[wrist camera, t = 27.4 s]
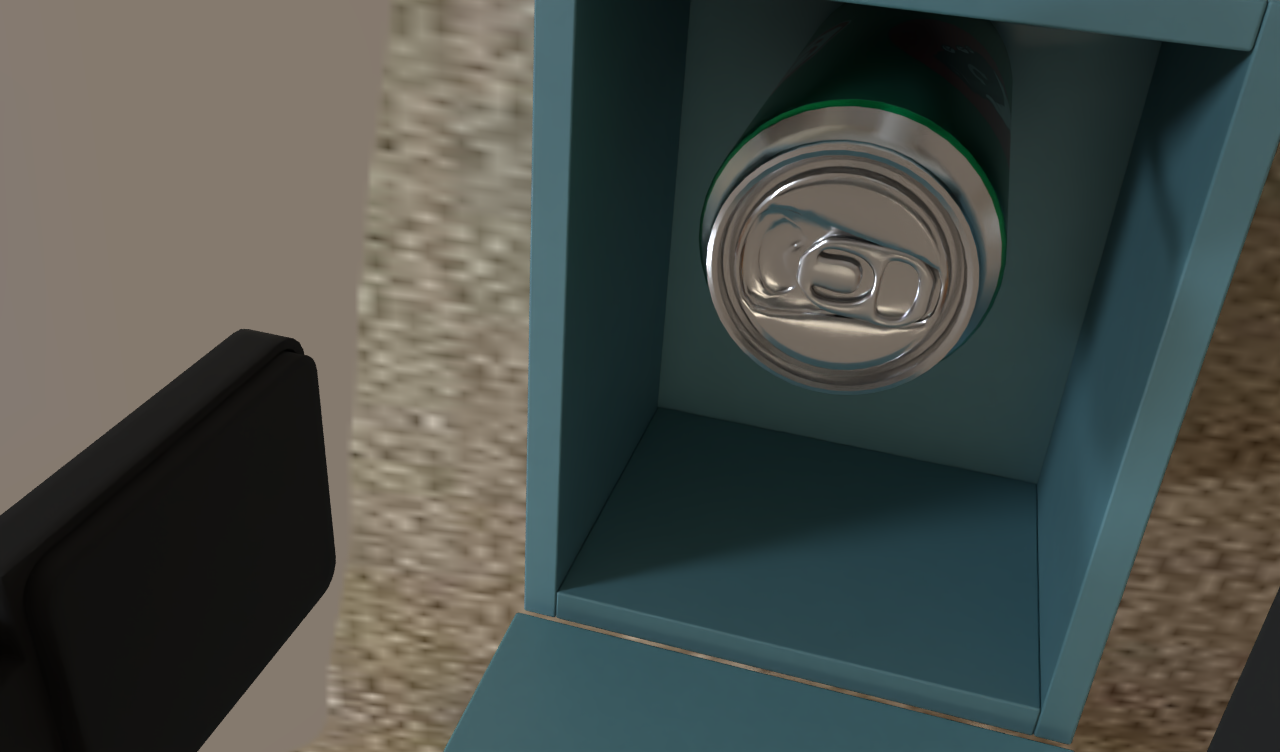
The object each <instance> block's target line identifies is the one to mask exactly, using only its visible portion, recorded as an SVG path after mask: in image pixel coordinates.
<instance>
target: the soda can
mask: <svg viewBox="0 0 1280 752" xmlns="http://www.w3.org/2000/svg"><path fill="white" fill-rule="evenodd" d="M1012 86H1013V78H1012V71H1011V63H1010V60H1009V56H1008V53H1007V50H1006V47H1005V45H1004V43H1003V41H1002V39H1001V37H1000V35H999V33H998V31H997V30H996V28H995V27H994V26H993V24H992V23H991V22H990V20H985V19H977V18H969V17H961V16H952V15H944V14H936V13H928V12H920V11H912V10H903V9H895V8H887V7H879V6H871V5H863V4H854V3H846V2H845V3H843V4H842V5H841V6H840V7H838V8H837V9H836V10H835V11H834V12H832V13H831V14H830V15H829V16H828V17H827V19H826V20H825V21H824V22H823V23H822V24H821V25H820V26H819V28H818V29H817V31H816V32H815V33H814V35H813V36H812V38H811V39H810V40H809V42H808V43H807V45H806V46H805V47H804V49H803V50H802V52H801V53H800V54H799V56H798V57H797V59H796V60H795V61H794V63H793V64H792V66H791V67H790V68H789V70H788V71H787V73H786V74H785V75H784V77H783V78H782V80H781V81H780V82H779V84H778V85H777V87H776V88H775V89H774V91H773V92H772V94H771V95H770V96H769V98H768V99H767V101H766V102H765V103H764V105H763V106H762V108H761V109H760V110H759V112H758V113H757V115H756V116H755V117H754V119H753V120H752V122H751V123H750V124H749V126H748V127H747V129H746V130H745V131H744V133H743V134H742V136H741V137H740V138H739V140H738V141H737V143H736V144H735V145H734V147H733V148H732V150H731V151H730V152H729V154H728V155H727V157H726V158H725V160H724V161H723V163H722V164H721V166H720V168H719V169H718V171H717V172H716V174H715V175H714V178H713V180H712V182H711V185H710V187H709V189H708V191H707V194H706V196H705V200H704V204H703V208H702V213H701V217H700V228H699V249H700V260H701V264H702V268H703V272H704V276H705V280H706V283H707V286H708V288H709V290H710V294H711V298H712V301H713V304H714V307H715V309H716V311H717V314H718V316H719V318H720V320H721V322H722V324H723V325H724V327H725V328H726V330H727V332H728V333H729V335H730V337H731V338H732V339H733V340H734V341H735V342H736V344H737V345H738V346H739V347H740V348H741V350H742V351H743V352H744V353H745V354H747V355H748V356H749V357H750V358H751V359H752V360H753V361H754V362H756V363H757V364H758V365H759V366H761V367H762V368H764V369H765V370H767V371H768V372H770V373H771V374H773V375H774V376H776V377H779V378H781V379H783V380H785V381H787V382H789V383H791V384H793V385H796V386H799V387H803V388H806V389H809V390H812V391H817V392H823V393H829V394H841V395H857V394H867V393H874V392H879V391H883V390H887V389H891V388H894V387H896V386H899V385H901V384H904V383H906V382H909V381H911V380H913V379H914V378H916V377H918V376H920V375H921V374H923V373H925V372H926V371H928V370H929V369H930V368H932V367H933V366H934V365H936V364H938V363H940V362H941V361H943V360H945V359H946V358H948V357H949V356H950V355H952V354H953V353H954V352H955V351H956V350H958V349H959V348H960V347H961V346H963V345H964V344H965V343H966V342H967V341H968V340H969V338H970V337H971V336H972V335H973V334H974V333H975V332H976V331H977V329H978V328H979V327H980V326H981V324H982V323H983V321H984V320H985V318H986V316H987V315H988V313H989V312H990V310H991V308H992V307H993V304H994V302H995V299H996V297H997V294H998V292H999V290H1000V287H1001V284H1002V280H1003V275H1004V270H1005V266H1006V255H1007V228H1008V200H1009V171H1010V143H1011V114H1012Z"/></svg>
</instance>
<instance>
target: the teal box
mask: <svg viewBox="0 0 1280 752" xmlns="http://www.w3.org/2000/svg"><path fill="white" fill-rule="evenodd" d="M845 2H846V3H854V4H863V5H871V6H879V7H887V8H895V9H903V10H912V11H920V12H928V13H936V14H944V15H952V16H961V17H969V18H977V19H985V20H990V22H991V23H992V24H993V26H994V27H995V28H996V30H997V31H998V33H999V35H1000V37H1001V39H1002V41H1003V43H1004V45H1005V47H1006V50H1007V53H1008V56H1009V60H1010V63H1011V71H1012V78H1013V86H1012V114H1011V143H1010V171H1009V200H1008V228H1007V255H1006V266H1005V270H1004V275H1003V280H1002V284H1001V287H1000V290H999V292H998V294H997V297H996V299H995V302H994V304H993V307H992V308H991V310H990V312H989V313H988V315H987V316H986V318H985V320H984V321H983V323H982V324H981V326H980V327H979V328H978V329H977V331H976V332H975V333H974V334H973V335H972V336H971V337H970V338H969V340H968V341H967V342H966V343H965V344H964V345H963V346H961V347H960V348H959V349H958V350H956V351H955V352H954V353H953V354H952V355H950V356H949V357H948V358H946V359H945V360H943V361H941V362H940V363H938V364H936V365H934V366H933V367H932V368H930V369H929V370H928V371H926V372H925V373H923V374H921V375H920V376H918V377H916V378H914V379H913V380H911V381H909V382H906V383H904V384H901V385H899V386H896V387H894V388H891V389H887V390H883V391H879V392H874V393H867V394H857V395H841V394H829V393H823V392H817V391H812V390H809V389H806V388H803V387H799V386H796V385H793V384H791V383H789V382H787V381H785V380H783V379H781V378H779V377H776V376H774V375H773V374H771V373H770V372H768V371H767V370H765V369H764V368H762V367H761V366H759V365H758V364H757V363H756V362H754V361H753V360H752V359H751V358H750V357H749V356H748V355H747V354H745V353H744V352H743V351H742V350H741V348H740V347H739V346H738V345H737V344H736V342H735V341H734V340H733V339H732V338H731V337H730V335H729V333H728V332H727V330H726V328H725V327H724V325H723V324H722V322H721V320H720V318H719V316H718V314H717V311H716V309H715V307H714V304H713V301H712V298H711V294H710V290H709V288H708V286H707V283H706V280H705V276H704V272H703V268H702V264H701V260H700V249H699V228H700V217H701V213H702V208H703V204H704V200H705V196H706V194H707V191H708V189H709V187H710V185H711V182H712V180H713V178H714V175H715V174H716V172H717V171H718V169H719V168H720V166H721V164H722V163H723V161H724V160H725V158H726V157H727V155H728V154H729V152H730V151H731V150H732V148H733V147H734V145H735V144H736V143H737V141H738V140H739V138H740V137H741V136H742V134H743V133H744V131H745V130H746V129H747V127H748V126H749V124H750V123H751V122H752V120H753V119H754V117H755V116H756V115H757V113H758V112H759V110H760V109H761V108H762V106H763V105H764V103H765V102H766V101H767V99H768V98H769V96H770V95H771V94H772V92H773V91H774V89H775V88H776V87H777V85H778V84H779V82H780V81H781V80H782V78H783V77H784V75H785V74H786V73H787V71H788V70H789V68H790V67H791V66H792V64H793V63H794V61H795V60H796V59H797V57H798V56H799V54H800V53H801V52H802V50H803V49H804V47H805V46H806V45H807V43H808V42H809V40H810V39H811V38H812V36H813V35H814V33H815V32H816V31H817V29H818V28H819V26H820V25H821V24H822V23H823V22H824V21H825V20H826V19H827V17H828V16H829V15H830V14H831V13H832V12H834V11H835V10H836V9H837V8H838V7H840V6H841V5H842V4H843V3H845ZM1279 141H1280V0H535V17H534V76H533V135H532V194H531V253H530V311H529V370H528V429H527V488H526V547H525V606H524V608H525V610H527V611H531V612H535V613H539V614H543V615H547V616H551V617H555V616H556V617H557V618H560V619H564V620H568V621H572V622H576V623H580V624H584V625H588V626H592V627H596V628H600V629H604V630H608V631H612V632H616V633H620V634H624V635H628V636H632V637H636V638H640V639H644V640H648V641H652V642H657V643H661V644H665V645H669V646H673V647H677V648H681V649H685V650H689V651H693V652H697V653H701V654H705V655H709V656H713V657H717V658H721V659H725V660H729V661H733V662H737V663H741V664H745V665H749V666H753V667H757V668H761V669H765V670H770V671H774V672H778V673H782V674H786V675H790V676H794V677H798V678H802V679H806V680H810V681H814V682H818V683H822V684H826V685H830V686H834V687H838V688H842V689H846V690H850V691H854V692H858V693H862V694H866V695H870V696H874V697H879V698H883V699H887V700H891V701H895V702H899V703H903V704H907V705H911V706H915V707H919V708H923V709H927V710H931V711H935V712H939V713H943V714H947V715H951V716H955V717H959V718H963V719H967V720H971V721H975V722H979V723H983V724H987V725H992V726H996V727H1000V728H1004V729H1008V730H1012V731H1016V732H1020V733H1024V734H1028V735H1032V734H1033V733H1034V736H1036V737H1040V738H1044V739H1048V740H1052V741H1056V742H1060V743H1064V744H1071V743H1072V740H1073V737H1074V734H1075V731H1076V728H1077V725H1078V723H1079V720H1080V717H1081V714H1082V711H1083V708H1084V705H1085V702H1086V699H1087V697H1088V694H1089V691H1090V688H1091V685H1092V682H1093V679H1094V676H1095V673H1096V671H1097V668H1098V665H1099V662H1100V659H1101V656H1102V653H1103V650H1104V647H1105V644H1106V642H1107V639H1108V636H1109V633H1110V630H1111V627H1112V624H1113V621H1114V618H1115V616H1116V613H1117V610H1118V607H1119V604H1120V601H1121V598H1122V595H1123V592H1124V590H1125V587H1126V584H1127V581H1128V578H1129V575H1130V572H1131V569H1132V566H1133V563H1134V561H1135V558H1136V555H1137V552H1138V549H1139V546H1140V543H1141V540H1142V537H1143V535H1144V532H1145V529H1146V526H1147V523H1148V520H1149V517H1150V514H1151V511H1152V509H1153V506H1154V503H1155V500H1156V497H1157V494H1158V491H1159V488H1160V485H1161V482H1162V480H1163V477H1164V474H1165V471H1166V468H1167V465H1168V462H1169V459H1170V456H1171V454H1172V451H1173V448H1174V445H1175V442H1176V439H1177V436H1178V433H1179V430H1180V428H1181V425H1182V422H1183V419H1184V416H1185V413H1186V410H1187V407H1188V404H1189V401H1190V399H1191V396H1192V393H1193V390H1194V387H1195V384H1196V381H1197V378H1198V375H1199V373H1200V370H1201V367H1202V364H1203V361H1204V358H1205V355H1206V352H1207V349H1208V347H1209V344H1210V341H1211V338H1212V335H1213V332H1214V329H1215V326H1216V323H1217V320H1218V318H1219V315H1220V312H1221V309H1222V306H1223V303H1224V300H1225V297H1226V294H1227V292H1228V289H1229V286H1230V283H1231V280H1232V277H1233V274H1234V271H1235V268H1236V266H1237V263H1238V260H1239V257H1240V254H1241V251H1242V248H1243V245H1244V242H1245V239H1246V237H1247V234H1248V231H1249V228H1250V225H1251V222H1252V219H1253V216H1254V213H1255V211H1256V208H1257V205H1258V202H1259V199H1260V196H1261V193H1262V190H1263V187H1264V185H1265V182H1266V179H1267V176H1268V173H1269V170H1270V167H1271V164H1272V161H1273V158H1274V156H1275V153H1276V150H1277V147H1278V144H1279Z"/></svg>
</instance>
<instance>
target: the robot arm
mask: <svg viewBox="0 0 1280 752" xmlns="http://www.w3.org/2000/svg"><path fill="white" fill-rule="evenodd" d="M335 559H336V555H335V546H334V535H333V526H332V515H331V505H330V495H329V485H328V475H327V465H326V456H325V445H324V436H323V425H322V415H321V406H320V395H319V385H318V376H317V369H316V364H315V362H314V360H313V359H312V358H311V357H309V356H307V355H304V351H303V348H302V347H301V345H300V343H299V342H298V341H296V340H295V339H293V338H288V337H283V336H278V335H274V334H269V333H264V332H259V331H254V330H250V329H240V330H239V331H237V332H235V333H233V334H232V335H230V336H229V337H228V338H227V339H225V340H224V341H223V342H222V343H220V344H219V345H218V346H217V347H215V348H214V349H213V350H211V351H210V352H209V353H208V354H206V355H205V356H204V357H202V358H201V359H200V360H199V361H197V362H196V363H195V364H193V365H192V366H191V367H190V368H188V369H187V370H186V371H184V372H183V373H182V374H181V375H179V376H178V377H177V378H176V379H174V380H173V381H172V382H170V383H169V384H168V385H167V386H165V387H164V388H163V389H161V390H160V391H159V392H158V393H156V394H155V395H154V396H152V397H151V398H150V399H149V400H147V401H146V402H145V403H144V404H142V405H141V406H140V407H139V408H137V409H136V410H135V411H133V412H132V413H131V414H129V415H128V416H127V417H126V418H125V419H123V420H122V421H121V422H119V423H118V424H117V425H116V426H114V427H113V428H112V429H110V430H109V431H108V432H106V434H104V435H103V436H101V437H100V438H99V439H98V440H96V441H95V442H94V443H92V444H91V445H90V446H89V447H87V448H86V449H85V450H83V451H82V452H81V453H80V454H78V455H77V456H76V457H75V458H73V459H72V460H71V461H70V462H68V463H67V464H66V465H65V466H63V467H62V468H60V469H59V470H58V471H57V472H55V473H54V474H53V475H52V476H50V477H49V478H48V479H46V480H45V481H44V482H43V483H41V484H40V485H39V486H37V487H36V488H35V489H34V490H32V491H31V492H30V493H29V494H27V495H26V496H25V497H23V498H22V499H21V500H20V501H18V502H17V503H16V504H14V505H13V506H12V507H11V508H9V509H8V510H7V511H5V512H4V513H3V514H2V515H0V752H197V751H198V750H199V749H200V748H201V746H202V745H203V744H204V743H205V741H206V740H207V739H208V738H209V736H210V735H211V734H212V733H213V731H214V730H215V729H216V728H217V726H218V725H219V724H220V723H221V722H222V720H223V719H224V718H225V717H226V715H227V714H228V713H229V711H230V710H231V709H232V708H233V707H234V705H235V704H236V703H237V701H238V700H239V699H240V698H241V697H242V695H243V694H244V693H245V692H246V690H247V689H248V688H249V687H250V685H251V684H252V683H253V682H254V680H255V679H256V678H257V677H258V675H259V674H260V673H261V672H262V670H263V669H264V668H265V667H266V665H267V664H268V663H269V662H270V660H271V659H272V658H273V656H274V655H275V654H276V653H277V652H278V650H279V649H280V648H281V647H282V645H283V644H284V643H285V642H286V641H287V639H288V638H289V637H290V636H291V634H292V633H293V632H294V630H295V629H296V628H297V627H298V626H299V624H300V623H301V622H302V620H303V619H304V618H305V617H306V616H307V614H308V613H309V612H310V611H311V609H312V608H313V607H314V606H315V604H316V603H317V602H318V601H319V599H320V598H321V597H322V596H323V594H324V593H325V591H326V590H327V588H328V587H329V584H330V582H331V580H332V577H333V574H334V570H335V563H336V560H335ZM1207 752H1280V588H1279V590H1278V592H1277V595H1276V597H1275V599H1274V601H1273V604H1272V606H1271V608H1270V610H1269V613H1268V615H1267V617H1266V619H1265V622H1264V624H1263V626H1262V628H1261V631H1260V633H1259V635H1258V637H1257V640H1256V642H1255V644H1254V646H1253V649H1252V651H1251V653H1250V655H1249V658H1248V660H1247V662H1246V665H1245V667H1244V669H1243V671H1242V674H1241V676H1240V678H1239V680H1238V683H1237V685H1236V687H1235V689H1234V692H1233V694H1232V696H1231V698H1230V701H1229V703H1228V705H1227V707H1226V710H1225V712H1224V714H1223V716H1222V719H1221V721H1220V723H1219V726H1218V728H1217V730H1216V732H1215V735H1214V737H1213V739H1212V741H1211V744H1210V746H1209V748H1208V750H1207Z"/></svg>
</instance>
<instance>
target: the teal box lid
mask: <svg viewBox="0 0 1280 752" xmlns="http://www.w3.org/2000/svg"><path fill="white" fill-rule="evenodd" d="M443 752H1074V751H1073V750H1069V749H1065V748H1061V747H1057V746H1053V745H1049V744H1045V743H1041V742H1037V741H1033V740H1029V739H1025V738H1021V737H1017V736H1013V735H1009V734H1005V733H1001V732H997V731H993V730H989V729H984V728H980V727H976V726H972V725H968V724H964V723H960V722H956V721H952V720H948V719H944V718H940V717H936V716H932V715H928V714H924V713H920V712H916V711H912V710H908V709H904V708H900V707H896V706H892V705H888V704H884V703H880V702H876V701H872V700H868V699H864V698H860V697H856V696H852V695H848V694H844V693H840V692H836V691H832V690H828V689H824V688H820V687H816V686H812V685H807V684H803V683H799V682H795V681H791V680H787V679H783V678H779V677H775V676H771V675H767V674H763V673H759V672H755V671H751V670H747V669H743V668H739V667H735V666H731V665H727V664H723V663H719V662H715V661H711V660H707V659H703V658H699V657H695V656H691V655H687V654H683V653H679V652H675V651H671V650H667V649H663V648H659V647H655V646H651V645H647V644H643V643H639V642H635V641H631V640H626V639H622V638H618V637H614V636H610V635H606V634H602V633H598V632H594V631H590V630H586V629H582V628H578V627H574V626H570V625H566V624H562V623H558V622H554V621H550V620H546V619H542V618H538V617H534V616H530V615H526V614H522V613H516V615H515V617H514V619H513V620H512V622H511V624H510V626H509V628H508V630H507V632H506V634H505V636H504V638H503V639H502V641H501V643H500V645H499V647H498V649H497V651H496V653H495V655H494V656H493V658H492V660H491V662H490V664H489V666H488V668H487V670H486V672H485V674H484V675H483V677H482V679H481V681H480V683H479V685H478V687H477V689H476V691H475V692H474V694H473V696H472V698H471V700H470V702H469V704H468V706H467V708H466V710H465V711H464V713H463V715H462V717H461V719H460V721H459V723H458V725H457V727H456V728H455V730H454V732H453V734H452V736H451V738H450V740H449V742H448V744H447V746H446V747H445V749H444V751H443Z"/></svg>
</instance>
